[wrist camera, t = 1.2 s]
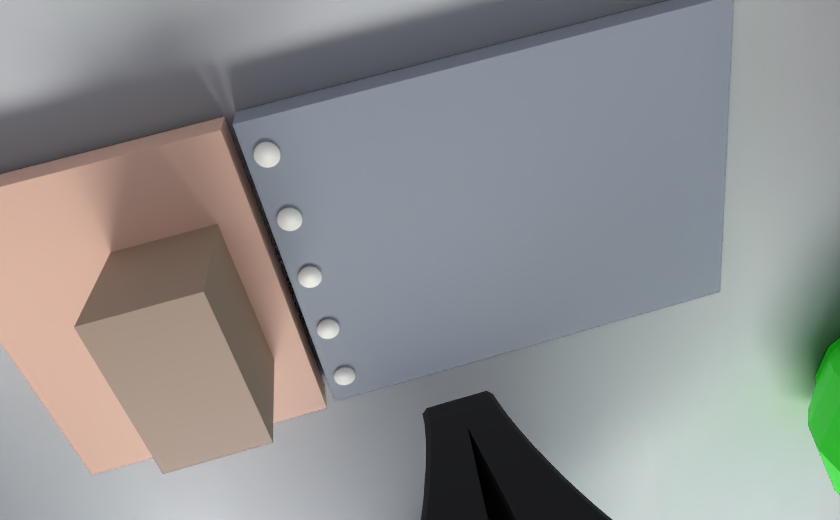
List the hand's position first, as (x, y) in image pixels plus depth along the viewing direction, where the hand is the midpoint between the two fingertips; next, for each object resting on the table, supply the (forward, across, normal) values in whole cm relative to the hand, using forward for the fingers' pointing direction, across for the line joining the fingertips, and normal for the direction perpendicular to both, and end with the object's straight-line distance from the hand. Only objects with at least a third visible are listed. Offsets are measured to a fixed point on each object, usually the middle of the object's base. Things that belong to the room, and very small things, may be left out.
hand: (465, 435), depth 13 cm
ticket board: (+9, -4, 0) cm, 10 cm away
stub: (+9, +8, 0) cm, 12 cm away
